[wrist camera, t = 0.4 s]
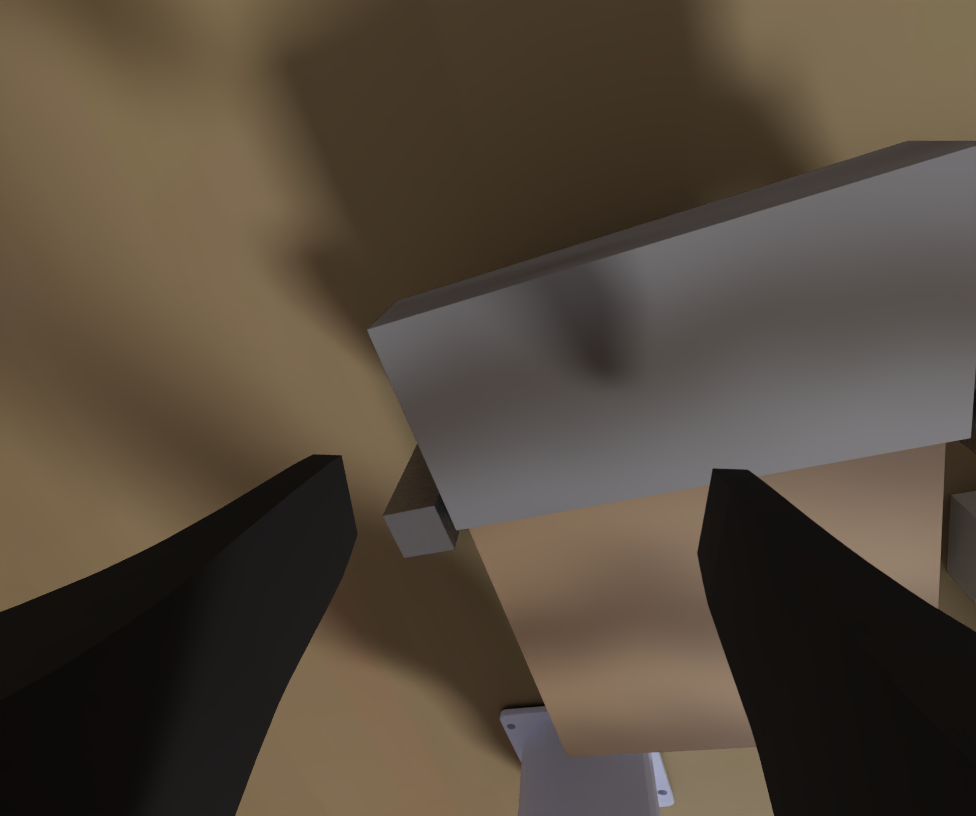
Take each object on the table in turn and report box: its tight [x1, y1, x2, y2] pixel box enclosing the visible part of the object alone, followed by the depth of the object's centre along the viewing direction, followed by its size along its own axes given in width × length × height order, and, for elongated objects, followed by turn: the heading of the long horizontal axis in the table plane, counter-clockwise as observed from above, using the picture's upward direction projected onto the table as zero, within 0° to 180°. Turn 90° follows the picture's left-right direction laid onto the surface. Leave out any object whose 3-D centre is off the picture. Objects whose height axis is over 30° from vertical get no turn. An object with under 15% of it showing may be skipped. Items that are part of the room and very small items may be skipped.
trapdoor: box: [367, 141, 976, 757], centre depth 15 cm, size 18×12×2 cm
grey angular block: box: [383, 370, 976, 558], centre depth 18 cm, size 14×16×7 cm
